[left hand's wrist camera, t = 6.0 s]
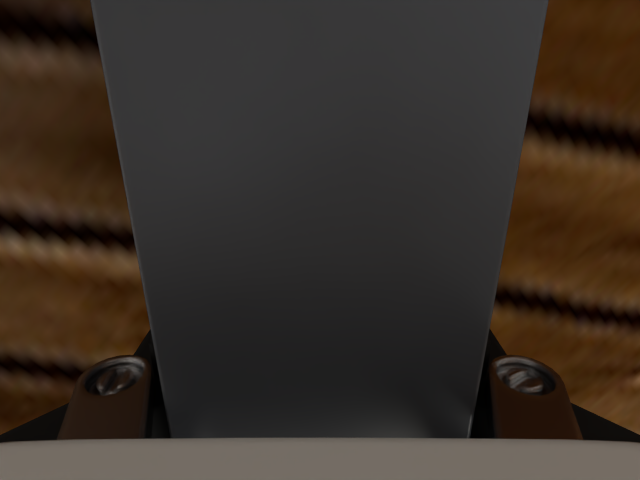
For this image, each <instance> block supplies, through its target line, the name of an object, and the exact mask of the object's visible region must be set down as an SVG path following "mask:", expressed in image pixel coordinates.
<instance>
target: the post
mask: <svg viewBox="0 0 640 480" xmlns="http://www.w3.org/2000/svg"><path fill="white" fill-rule="evenodd" d="M90 1H91V7H92V12H93V18H94V23H95V28H96V34H97V39H98V45H99V50H100V56H101V61H102V67H103V72H104V78H105V83H106V88H107V94H108V99H109V105H110V110H111V116H112V121H113V127H114V132H115V137H116V143H117V148H118V154H119V159H120V165H121V170H122V176H123V181H124V187H125V192H126V197H127V203H128V208H129V214H130V219H131V225H132V230H133V236H134V241H135V246H136V252H137V257H138V263H139V268H140V274H141V279H142V285H143V290H144V296H145V301H146V306H147V312H148V317H149V323H150V328H151V334H152V339H153V345H154V350H155V356H156V361H157V366H158V372H159V377H160V383H161V388H162V394H163V399H164V405H165V410H166V415H167V421H168V426H169V432H170V437H171V439H176V438H464V439H470V434H471V428H472V423H473V417H474V412H475V406H476V401H477V395H478V389H479V384H480V378H481V373H482V367H483V362H484V356H485V351H486V345H487V339H488V334H489V328H490V323H491V317H492V312H493V306H494V300H495V295H496V289H497V284H498V278H499V273H500V267H501V261H502V256H503V250H504V245H505V239H506V234H507V228H508V222H509V217H510V211H511V206H512V200H513V195H514V189H515V184H516V178H517V172H518V167H519V161H520V156H521V150H522V145H523V139H524V133H525V128H526V122H527V117H528V111H529V106H530V100H531V94H532V89H533V83H534V78H535V72H536V67H537V61H538V55H539V50H540V44H541V39H542V33H543V28H544V22H545V17H546V11H547V5H548V0H90Z"/></svg>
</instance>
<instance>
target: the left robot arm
mask: <svg viewBox="0 0 640 480" xmlns="http://www.w3.org/2000/svg"><path fill="white" fill-rule="evenodd" d="M0 480H640V435H638V434H636V433H634V432H632V431H630V430H628V429H626V428H624V427H621V426H619V425H617V424H615V423H613V422H611V421H609V420H607V419H604V418H602V417H600V416H598V415H596V414H594V413H592V412H589V411H587V410H585V409H583V408H581V407H579V406H577V405H575V404H572V403H571V402H570V400H569V397H568V394H567V391H566V388H565V385H564V382H563V381H562V379H561V377H560V376H559V375H558V374H557V373H556V372H555V371H554V370H553V369H552V368H550V367H548V366H547V365H545V364H544V363H542V362H539V361H537V360H535V359H532V358H528V357H524V356H519V355H506V353H505V351H504V350H503V348H502V347H501V345H500V344H499V342H498V341H497V339H496V338H495V336H494V335H493V333H492V332H491V330H490V328H489V334H488V339H487V345H486V351H485V356H484V362H483V367H482V373H481V378H480V384H479V389H478V395H477V401H476V406H475V412H474V417H473V423H472V428H471V434H470V439H464V438H176V439H171V437H170V432H169V426H168V421H167V415H166V410H165V405H164V399H163V394H162V388H161V383H160V377H159V372H158V366H157V361H156V356H155V350H154V345H153V339H152V334H151V329H150V331H149V332H148V334H147V335H146V337H145V338H144V340H143V341H142V343H141V344H140V346H139V347H138V349H137V350H136V352H135V354H134V355H121V356H116V357H112V358H108V359H105V360H103V361H101V362H98V363H96V364H95V365H93V366H92V367H90V368H88V369H87V370H86V371H85V372H84V373H83V374H82V375H81V376H80V377H79V379H78V381H77V382H76V385H75V388H74V391H73V394H72V397H71V399H70V402H69V403H68V404H66V405H64V406H61V407H59V408H57V409H55V410H53V411H51V412H49V413H47V414H44V415H42V416H40V417H38V418H36V419H34V420H32V421H29V422H27V423H25V424H23V425H21V426H19V427H17V428H15V429H12V430H10V431H8V432H6V433H4V434H2V435H0Z"/></svg>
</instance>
